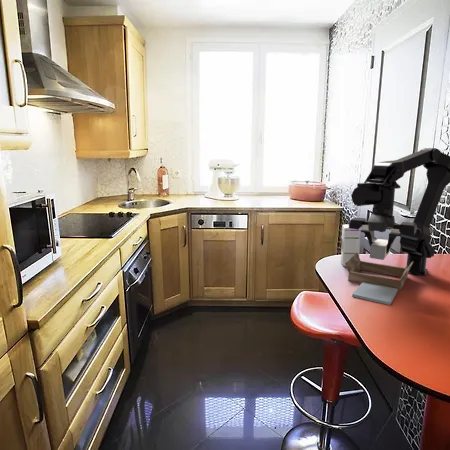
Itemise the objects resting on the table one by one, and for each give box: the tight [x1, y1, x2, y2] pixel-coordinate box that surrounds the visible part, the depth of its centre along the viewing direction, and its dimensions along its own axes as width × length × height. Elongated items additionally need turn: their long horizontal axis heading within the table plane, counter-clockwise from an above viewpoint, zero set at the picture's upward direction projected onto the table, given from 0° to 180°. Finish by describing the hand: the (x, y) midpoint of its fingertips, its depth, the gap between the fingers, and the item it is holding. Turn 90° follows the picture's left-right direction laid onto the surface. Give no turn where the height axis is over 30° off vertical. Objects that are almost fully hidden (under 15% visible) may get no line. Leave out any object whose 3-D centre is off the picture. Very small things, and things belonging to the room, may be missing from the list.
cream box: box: [369, 238, 391, 261], centre depth 109 cm, size 10×4×4 cm, turn 144°
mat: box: [351, 282, 399, 306], centre depth 99 cm, size 11×10×1 cm
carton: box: [345, 253, 414, 291], centre depth 110 cm, size 13×18×6 cm
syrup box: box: [340, 223, 361, 267], centre depth 124 cm, size 6×6×14 cm
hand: (379, 252), depth 108 cm, fingers closed on cream box, 4 cm apart
